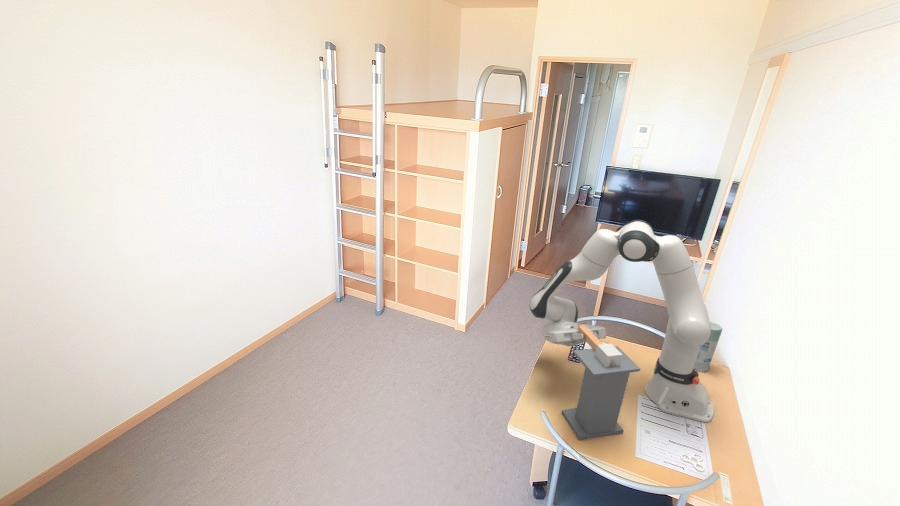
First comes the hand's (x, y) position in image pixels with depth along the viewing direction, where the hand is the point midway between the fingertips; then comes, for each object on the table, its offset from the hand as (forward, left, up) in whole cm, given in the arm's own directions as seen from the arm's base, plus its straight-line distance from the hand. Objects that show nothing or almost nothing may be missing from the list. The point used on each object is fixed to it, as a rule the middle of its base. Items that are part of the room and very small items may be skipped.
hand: (589, 335), depth 139 cm
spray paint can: (-38, -50, -28) cm, 69 cm away
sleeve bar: (-3, +3, -2) cm, 5 cm away
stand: (-8, +8, -28) cm, 30 cm away
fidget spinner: (-39, +6, -28) cm, 48 cm away
